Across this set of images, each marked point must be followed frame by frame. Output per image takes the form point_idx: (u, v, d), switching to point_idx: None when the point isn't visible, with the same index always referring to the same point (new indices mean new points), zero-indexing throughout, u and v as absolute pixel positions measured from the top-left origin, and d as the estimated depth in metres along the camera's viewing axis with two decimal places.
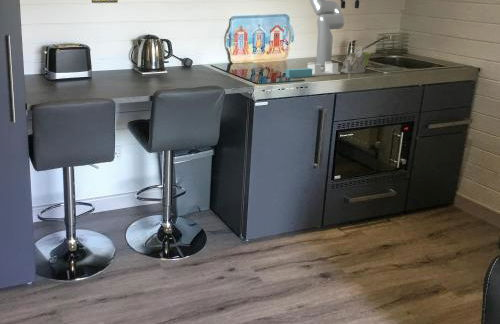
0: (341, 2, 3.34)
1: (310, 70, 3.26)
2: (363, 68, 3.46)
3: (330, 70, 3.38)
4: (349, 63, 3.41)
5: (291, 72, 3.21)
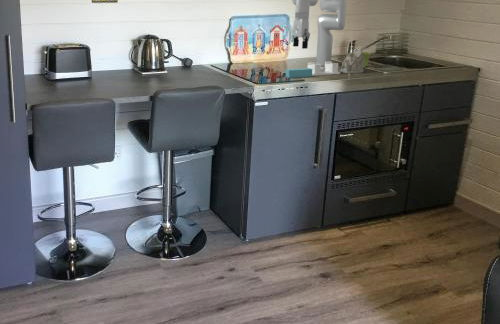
0: (305, 42, 3.15)
1: (310, 70, 3.26)
2: (362, 68, 3.47)
3: (330, 70, 3.38)
4: (348, 63, 3.41)
5: (291, 72, 3.21)
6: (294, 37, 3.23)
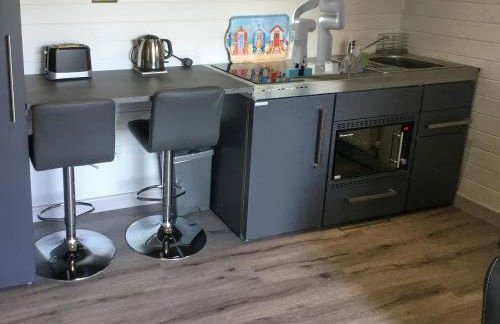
0: (301, 70, 3.22)
1: (310, 69, 3.26)
2: (361, 68, 3.47)
3: (330, 70, 3.38)
4: (347, 63, 3.41)
5: (291, 72, 3.21)
6: (295, 65, 3.26)
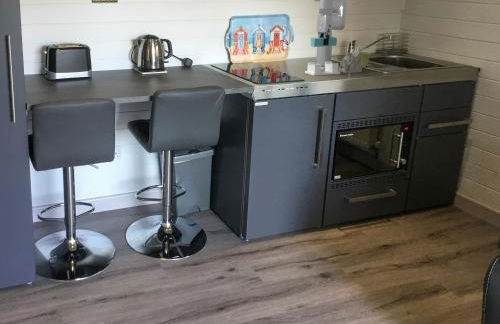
0: (326, 39, 3.29)
1: (335, 39, 3.33)
2: (360, 68, 3.48)
3: (330, 70, 3.38)
4: (346, 63, 3.42)
5: (316, 41, 3.28)
6: (320, 34, 3.33)
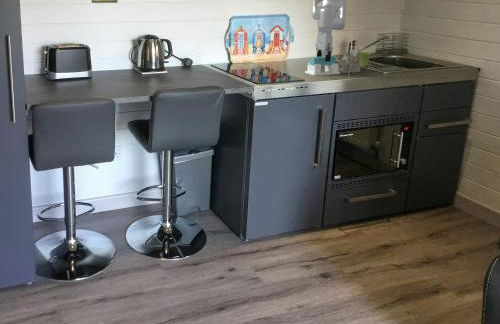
0: (328, 56, 3.30)
1: (334, 58, 3.37)
2: (359, 67, 3.48)
3: (330, 70, 3.38)
4: (345, 63, 3.42)
5: (316, 60, 3.32)
6: (317, 50, 3.38)
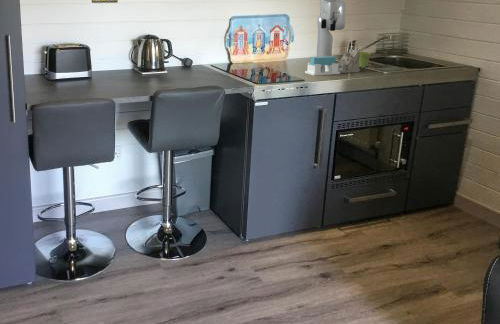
0: (333, 25, 3.28)
1: (334, 58, 3.37)
2: None
3: (330, 70, 3.38)
4: (344, 62, 3.42)
5: (316, 60, 3.32)
6: (322, 19, 3.36)
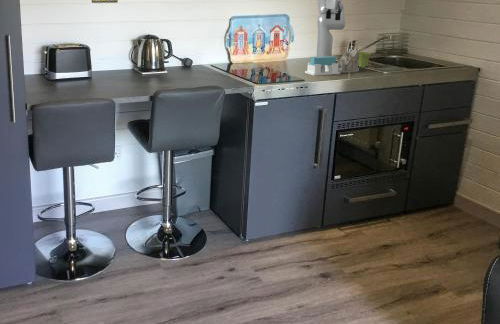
0: (338, 14, 3.30)
1: (334, 58, 3.37)
2: None
3: (330, 70, 3.38)
4: (344, 62, 3.43)
5: (316, 60, 3.32)
6: (327, 10, 3.38)
